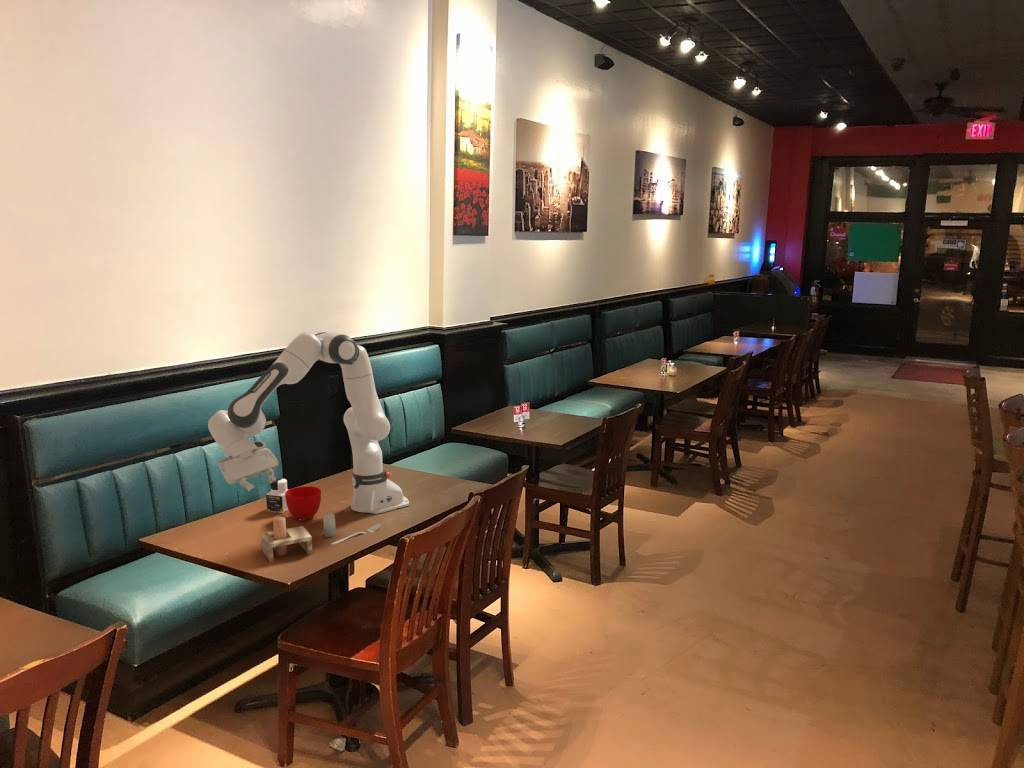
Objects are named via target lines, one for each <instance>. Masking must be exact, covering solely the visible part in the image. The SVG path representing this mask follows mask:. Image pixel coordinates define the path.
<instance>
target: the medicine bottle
mask: <svg viewBox="0 0 1024 768" xmlns="http://www.w3.org/2000/svg"><path fill="white" fill-rule="evenodd" d="M269 484H270V491H269V492H267V493H266V494H265V496H266V499H265V500H266V511H267V512H270V511H271V513H277V512H278V513H277V514H284V513H286V512H287V511H289V510H288V508H287V504H286V498H285V492H286V491H287V490H288V480H287V479H286V478H282V477H279V478H278V477H277V478H276V481H275V482H273V483H270V482H269ZM285 511H286V512H285Z"/></svg>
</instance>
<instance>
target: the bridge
mask: <svg viewBox="0 0 1024 768" xmlns="http://www.w3.org/2000/svg"><path fill="white" fill-rule="evenodd" d="M286 536H287V538H286V539H280V540H275V541H274V530H273V531H268V532H262V533H260V537H261V550H263V551H262V552H263V554H264V555H265V557H266V558H268V559H267V560H268V562H269V563H273V562H274V549H273V548H275V547H277V546H282V545H287V546H288V545H292V544H297V543H300V544H299V545H300V546H301V548H303V550H304V552H305V553H306V554H307V555H312V554H313V537H312V535H311V534H310V533H309V531H308V530H307V529H306V528H305V527H304V526H303V525H302V526H301V525H300V526H296V527H295V526H294V527H290V528H286ZM272 538H273V539H272Z"/></svg>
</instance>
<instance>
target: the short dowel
mask: <svg viewBox="0 0 1024 768" xmlns="http://www.w3.org/2000/svg"><path fill="white" fill-rule="evenodd" d="M335 517H336V515H335V514H333V513H327V514H324V515H323V517H322V519H323V536H324V537H326V538H331V537H335V536H337V533H336V518H335Z"/></svg>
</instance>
